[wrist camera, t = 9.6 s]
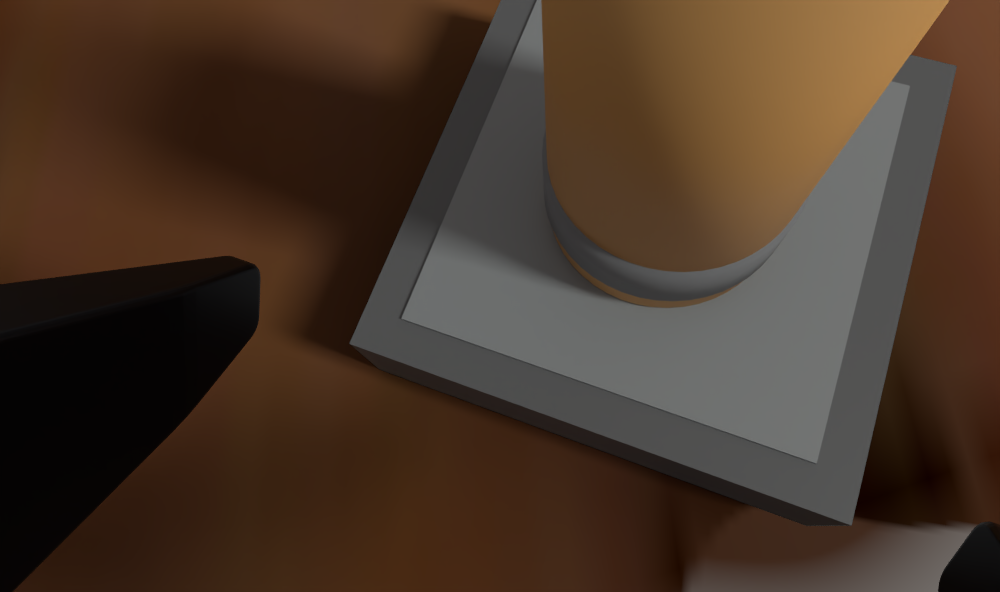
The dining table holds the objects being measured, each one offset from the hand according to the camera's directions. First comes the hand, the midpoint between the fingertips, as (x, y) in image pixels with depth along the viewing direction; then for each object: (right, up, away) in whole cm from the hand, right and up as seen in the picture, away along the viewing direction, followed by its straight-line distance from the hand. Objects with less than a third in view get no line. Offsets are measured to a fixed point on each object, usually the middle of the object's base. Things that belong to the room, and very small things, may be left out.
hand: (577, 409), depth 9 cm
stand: (+3, +3, +12) cm, 13 cm away
